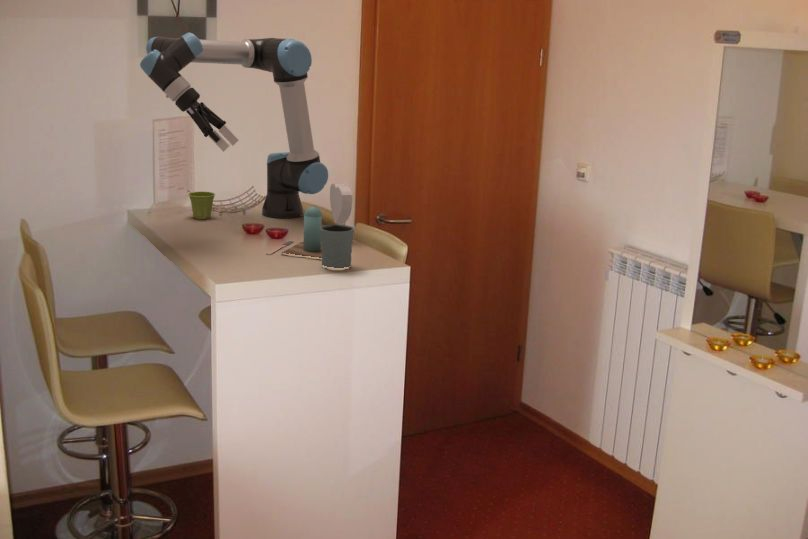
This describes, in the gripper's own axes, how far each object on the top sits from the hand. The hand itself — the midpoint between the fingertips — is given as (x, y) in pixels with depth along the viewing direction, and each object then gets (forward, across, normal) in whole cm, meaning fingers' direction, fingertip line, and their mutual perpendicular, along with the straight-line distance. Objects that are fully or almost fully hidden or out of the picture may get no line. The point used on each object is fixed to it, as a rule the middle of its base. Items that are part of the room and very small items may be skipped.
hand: (231, 145), depth 290 cm
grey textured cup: (+48, +20, +3) cm, 52 cm away
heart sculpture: (+46, -16, +1) cm, 49 cm away
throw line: (+34, +2, -11) cm, 35 cm away
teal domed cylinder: (+40, +5, -3) cm, 41 cm away
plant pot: (+10, -36, -36) cm, 52 cm away
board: (+41, +5, -4) cm, 42 cm away
